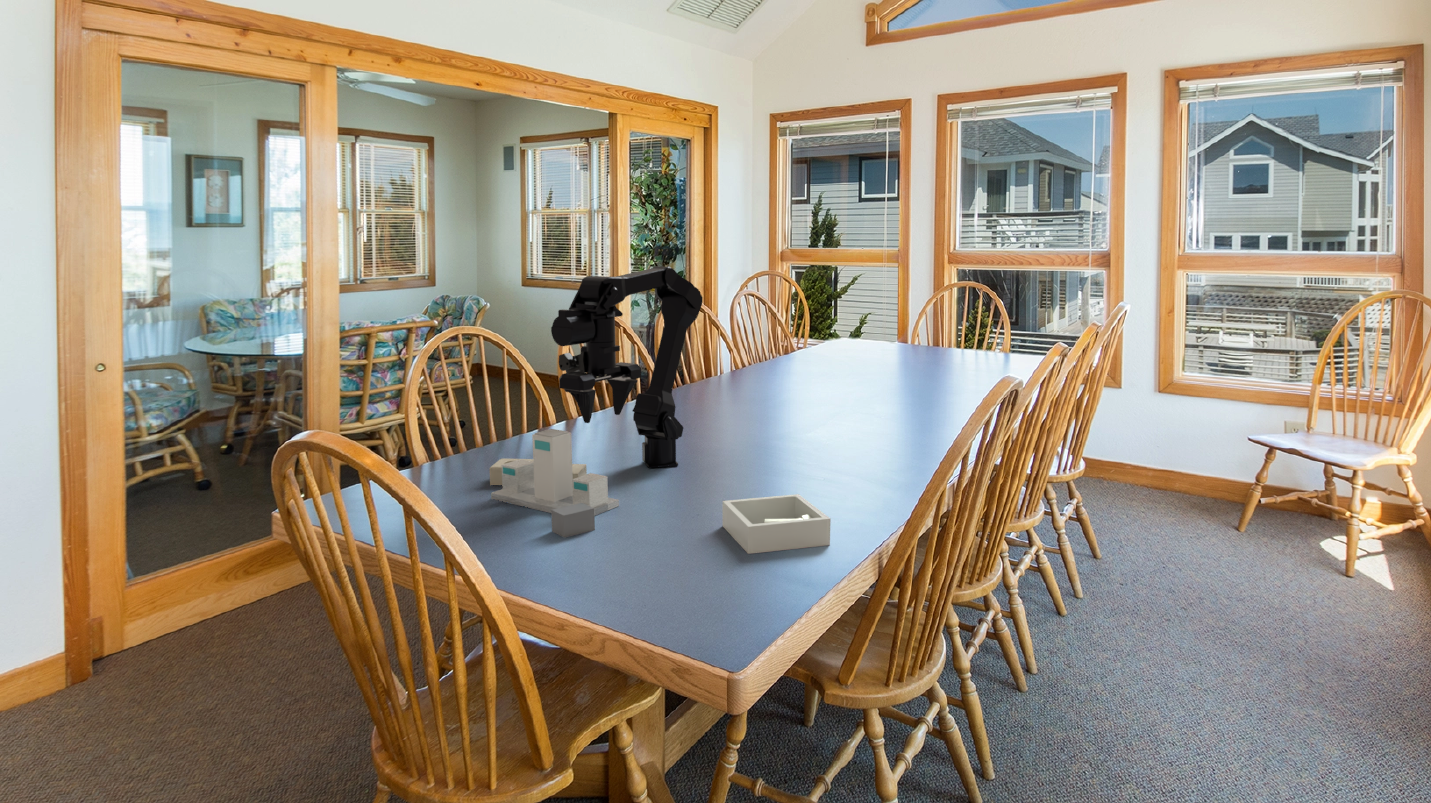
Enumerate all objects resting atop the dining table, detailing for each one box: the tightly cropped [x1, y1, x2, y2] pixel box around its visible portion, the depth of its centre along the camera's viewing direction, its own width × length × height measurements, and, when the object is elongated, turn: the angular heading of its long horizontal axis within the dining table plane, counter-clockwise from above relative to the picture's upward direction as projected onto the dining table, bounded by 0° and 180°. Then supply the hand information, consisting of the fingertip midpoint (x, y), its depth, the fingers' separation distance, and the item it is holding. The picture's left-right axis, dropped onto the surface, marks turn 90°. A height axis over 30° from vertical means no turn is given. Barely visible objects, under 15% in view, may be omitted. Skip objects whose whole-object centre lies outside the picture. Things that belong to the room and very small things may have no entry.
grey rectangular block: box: [550, 503, 596, 538], centre depth 155 cm, size 6×4×4 cm, turn 130°
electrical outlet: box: [488, 458, 588, 486], centre depth 184 cm, size 7×4×18 cm
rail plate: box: [490, 458, 620, 516], centre depth 170 cm, size 10×23×6 cm, turn 56°
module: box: [531, 428, 573, 502], centre depth 169 cm, size 5×5×12 cm
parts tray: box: [722, 493, 832, 555], centre depth 153 cm, size 14×14×4 cm
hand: (602, 418), depth 182 cm, fingers open, 9 cm apart
